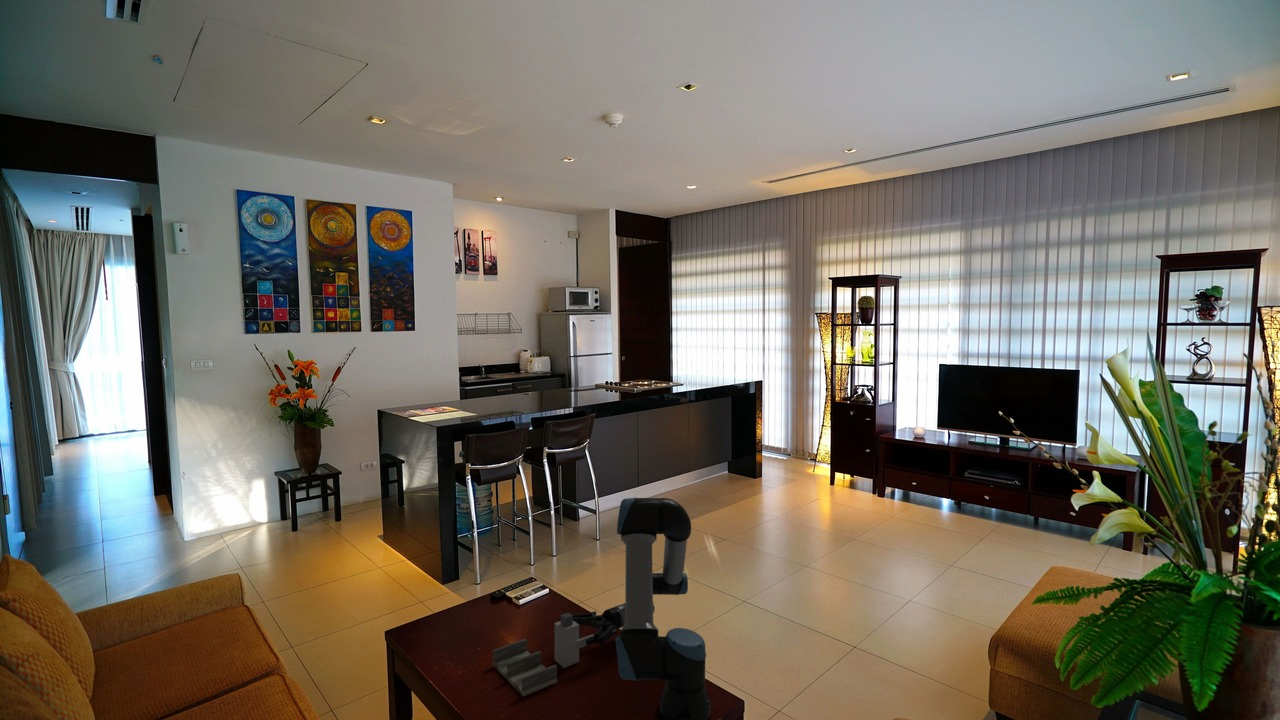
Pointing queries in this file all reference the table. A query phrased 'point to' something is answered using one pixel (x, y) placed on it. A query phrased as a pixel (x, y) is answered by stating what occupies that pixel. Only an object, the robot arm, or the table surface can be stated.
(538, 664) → the slot rack
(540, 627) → the table surface
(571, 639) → the grey square bottle
